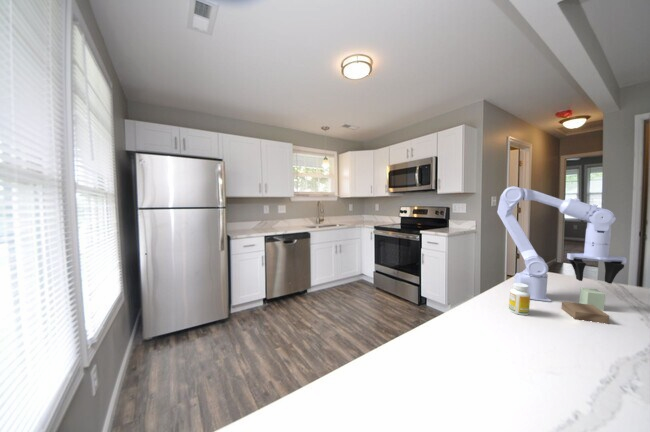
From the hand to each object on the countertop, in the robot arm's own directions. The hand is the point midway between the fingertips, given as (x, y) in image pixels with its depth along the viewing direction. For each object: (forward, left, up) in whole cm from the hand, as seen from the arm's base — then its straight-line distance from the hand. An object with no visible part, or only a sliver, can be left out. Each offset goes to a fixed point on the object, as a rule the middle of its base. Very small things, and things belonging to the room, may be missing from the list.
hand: (593, 281), depth 85 cm
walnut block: (-6, -9, -10) cm, 15 cm away
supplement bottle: (-25, -13, -10) cm, 30 cm away
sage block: (0, 0, -10) cm, 10 cm away
